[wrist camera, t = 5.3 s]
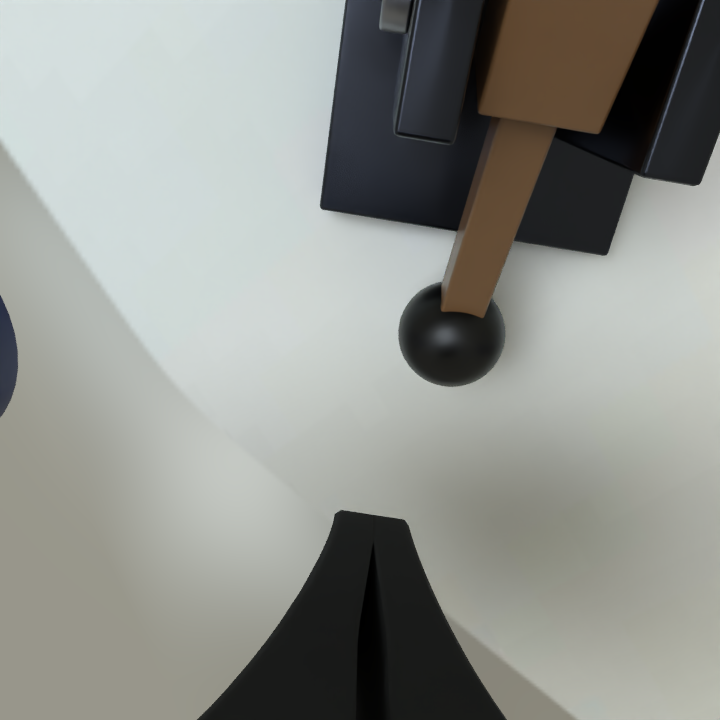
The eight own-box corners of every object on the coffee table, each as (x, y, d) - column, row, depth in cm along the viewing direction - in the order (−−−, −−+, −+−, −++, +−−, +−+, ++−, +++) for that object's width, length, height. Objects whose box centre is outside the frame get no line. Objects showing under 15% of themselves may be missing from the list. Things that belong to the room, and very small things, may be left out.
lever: (487, 339, 19) (490, 415, 17) (394, 324, 19) (386, 398, 17) (662, -92, 11) (706, -36, 9) (499, -122, 11) (508, -72, 9)
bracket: (595, 245, 18) (723, 359, 11) (323, 200, 18) (280, 287, 11) (733, -188, 14) (1078, -441, 7) (381, -253, 14) (371, -580, 7)
